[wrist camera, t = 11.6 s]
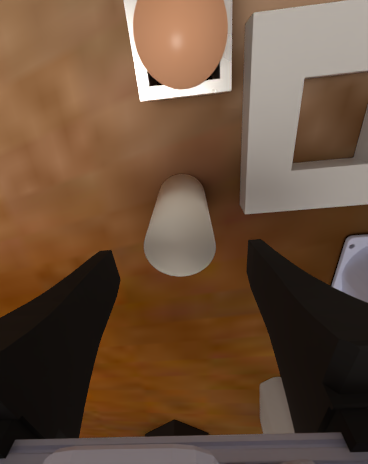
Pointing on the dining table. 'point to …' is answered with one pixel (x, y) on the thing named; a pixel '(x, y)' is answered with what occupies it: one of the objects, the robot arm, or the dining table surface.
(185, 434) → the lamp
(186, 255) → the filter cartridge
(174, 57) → the button
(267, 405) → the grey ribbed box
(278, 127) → the white square frame
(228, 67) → the button housing
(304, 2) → the dining table surface
